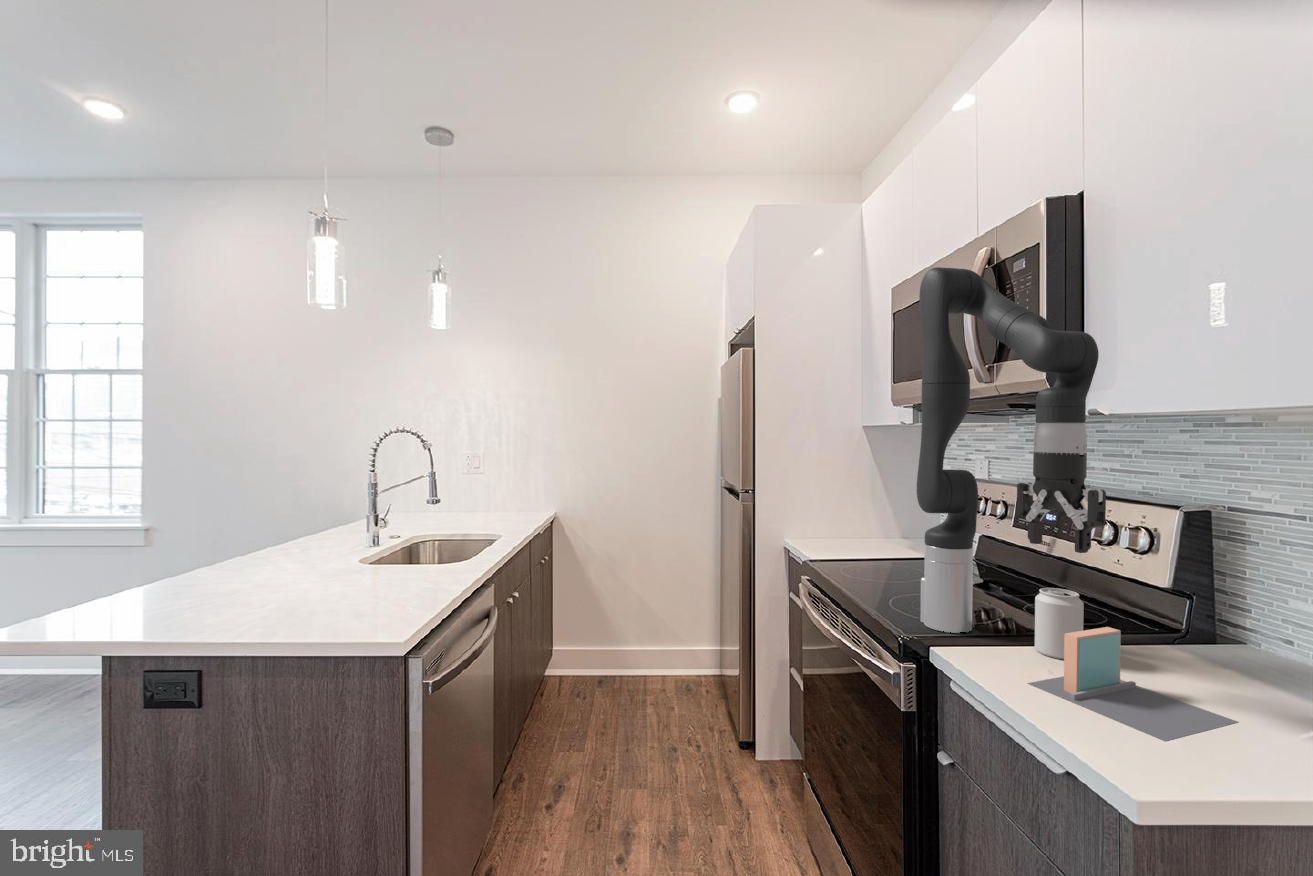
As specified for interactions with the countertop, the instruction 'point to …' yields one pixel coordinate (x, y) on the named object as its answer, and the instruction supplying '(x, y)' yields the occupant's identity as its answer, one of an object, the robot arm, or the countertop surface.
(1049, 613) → the can
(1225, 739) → the countertop surface
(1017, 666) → the countertop surface
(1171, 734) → the mat
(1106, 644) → the tile
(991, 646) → the countertop surface
